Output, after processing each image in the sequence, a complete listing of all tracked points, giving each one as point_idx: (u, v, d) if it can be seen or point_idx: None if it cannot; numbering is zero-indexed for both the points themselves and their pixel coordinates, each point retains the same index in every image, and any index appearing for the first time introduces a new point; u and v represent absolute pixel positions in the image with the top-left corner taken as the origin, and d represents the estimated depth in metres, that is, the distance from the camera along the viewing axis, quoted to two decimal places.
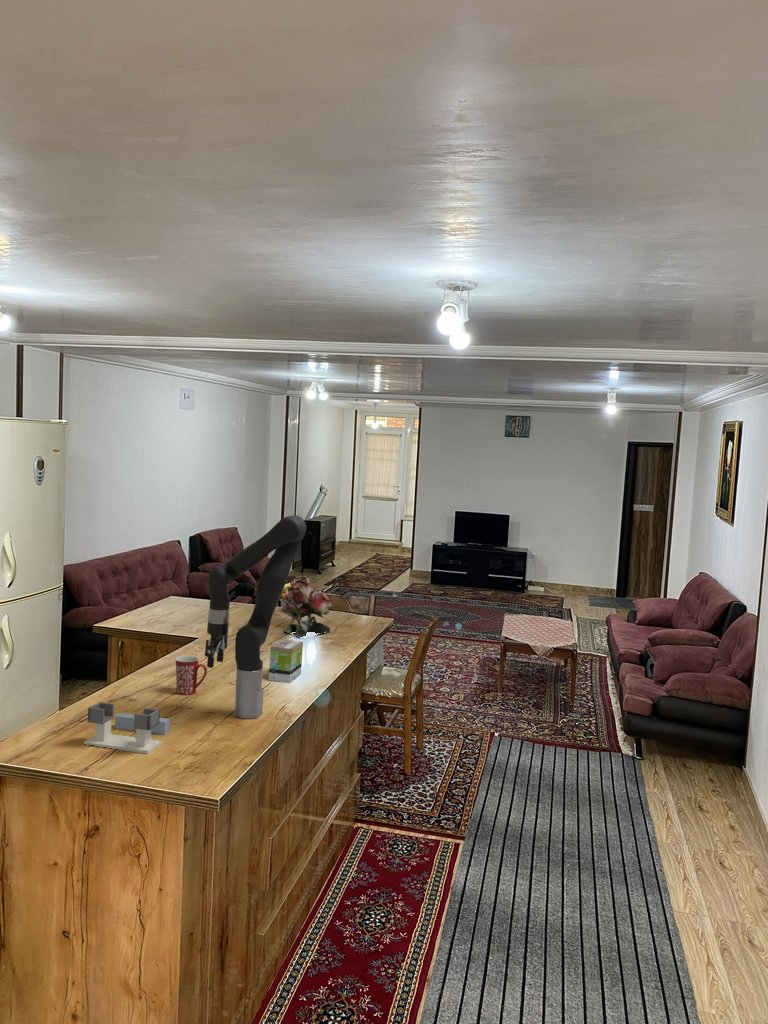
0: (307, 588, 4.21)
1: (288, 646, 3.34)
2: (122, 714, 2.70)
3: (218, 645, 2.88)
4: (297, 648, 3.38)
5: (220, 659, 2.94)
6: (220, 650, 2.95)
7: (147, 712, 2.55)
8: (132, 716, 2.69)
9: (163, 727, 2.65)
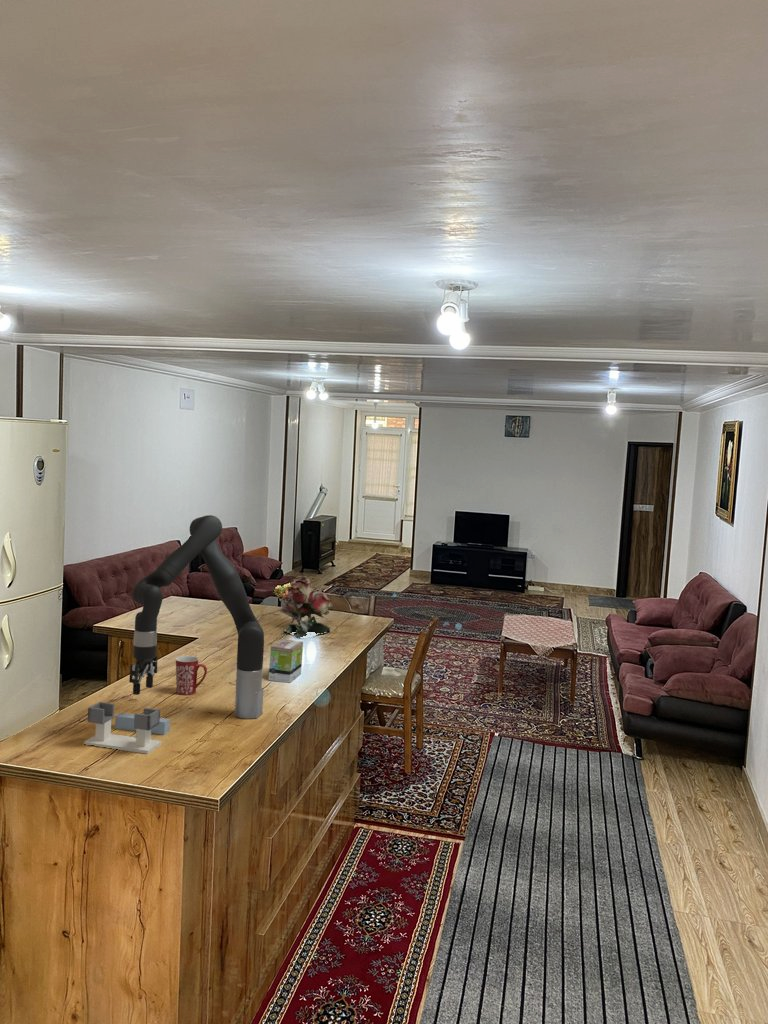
0: (307, 588, 4.21)
1: (288, 646, 3.34)
2: (122, 714, 2.70)
3: (145, 670, 2.65)
4: (297, 648, 3.38)
5: (149, 685, 2.71)
6: (149, 675, 2.72)
7: (147, 712, 2.55)
8: (132, 716, 2.69)
9: (162, 727, 2.65)
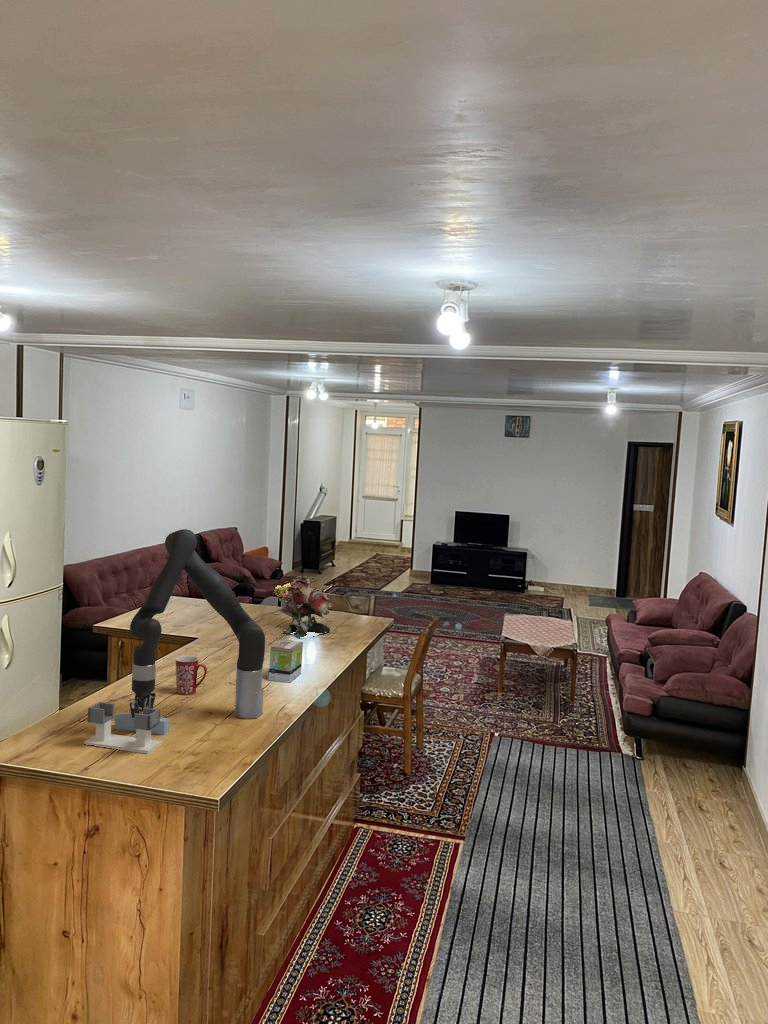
0: (307, 588, 4.21)
1: (288, 646, 3.34)
2: (122, 713, 2.70)
3: (144, 704, 2.66)
4: (297, 648, 3.38)
5: None
6: None
7: (147, 712, 2.55)
8: None
9: (162, 726, 2.65)
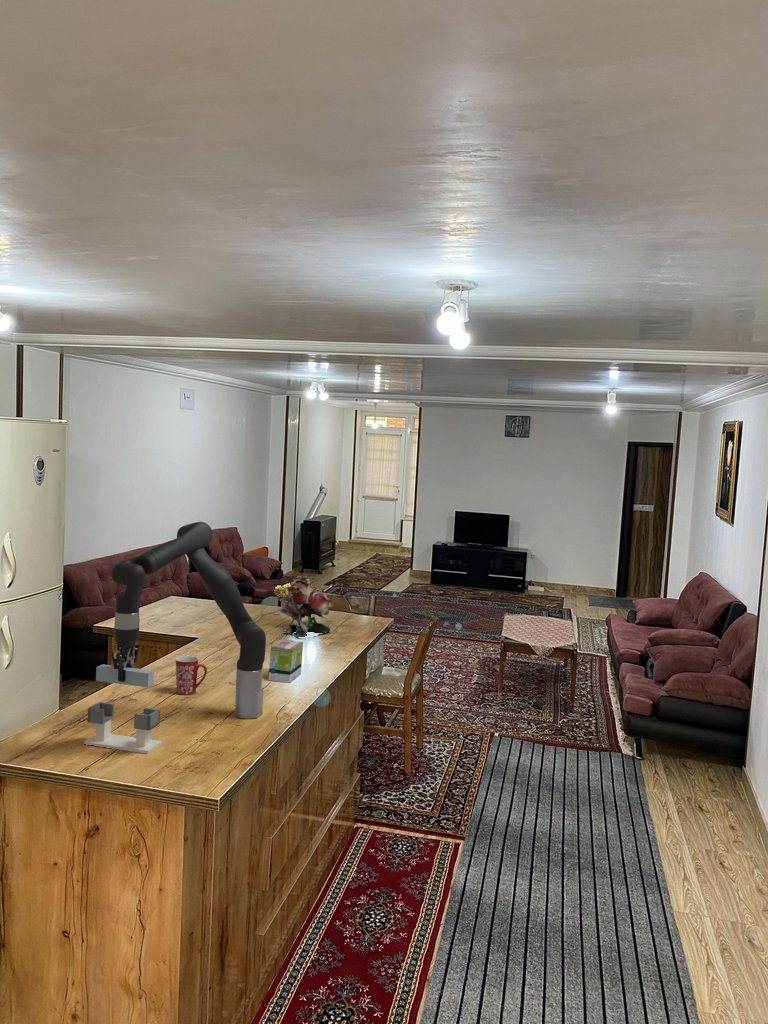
0: (307, 588, 4.20)
1: (288, 646, 3.34)
2: (104, 665, 2.55)
3: (128, 655, 2.51)
4: (297, 648, 3.38)
5: None
6: (128, 664, 2.55)
7: (147, 712, 2.55)
8: None
9: (146, 678, 2.50)
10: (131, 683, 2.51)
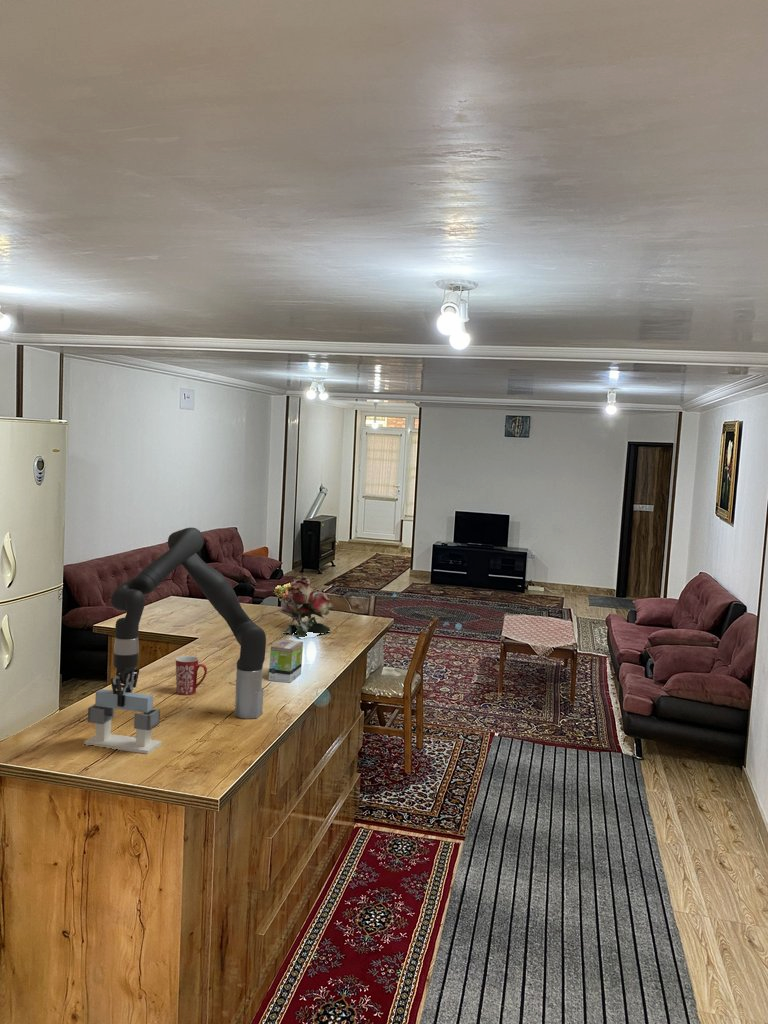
0: (307, 588, 4.20)
1: (288, 646, 3.34)
2: (103, 690, 2.56)
3: (127, 680, 2.51)
4: (297, 648, 3.38)
5: None
6: (127, 688, 2.55)
7: None
8: None
9: (145, 703, 2.50)
10: (130, 708, 2.51)
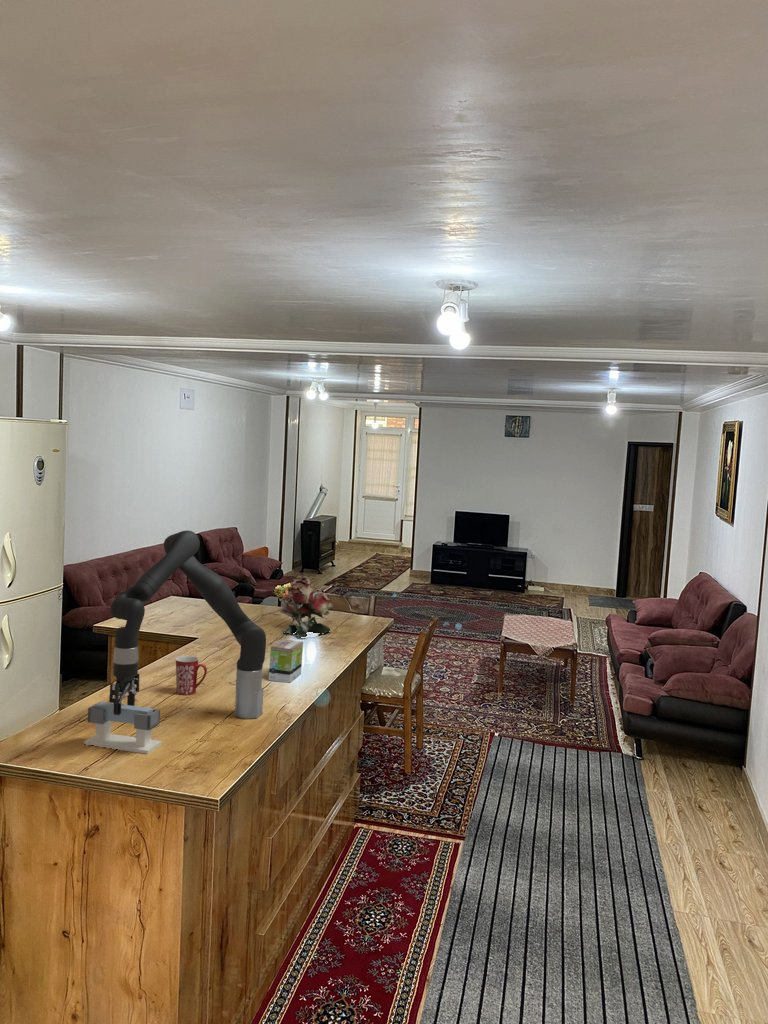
0: (307, 588, 4.20)
1: (288, 646, 3.34)
2: (103, 703, 2.56)
3: (126, 688, 2.51)
4: (297, 648, 3.38)
5: (131, 704, 2.57)
6: (131, 693, 2.57)
7: None
8: (113, 705, 2.54)
9: None
10: (130, 721, 2.52)
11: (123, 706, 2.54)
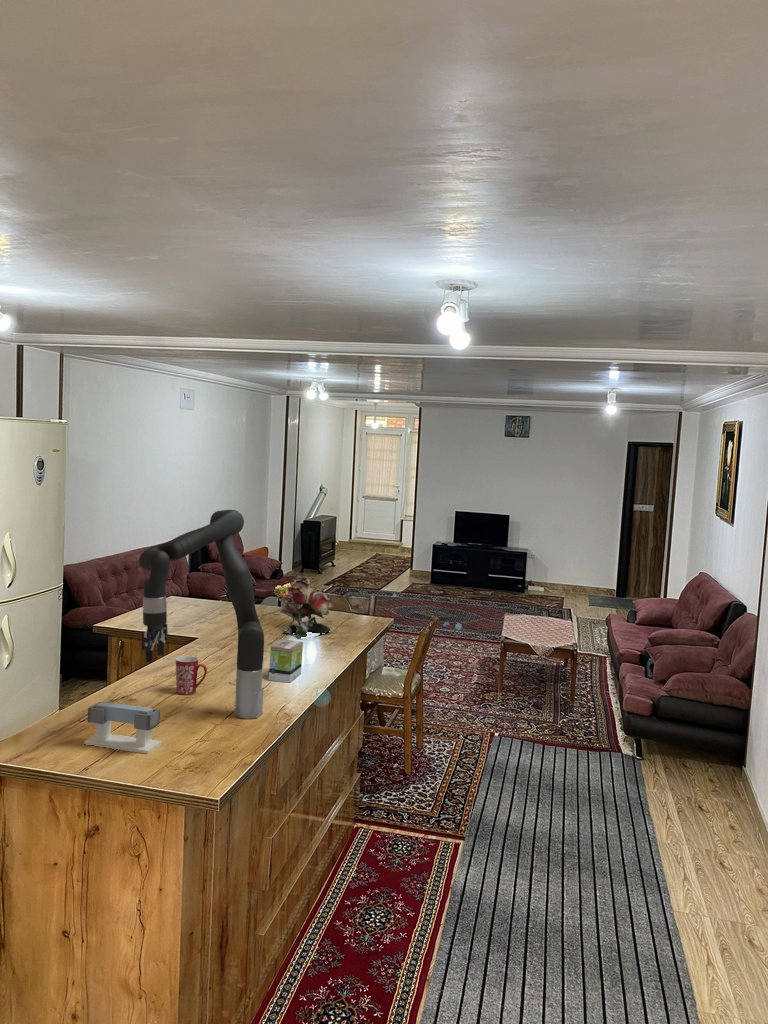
0: (307, 588, 4.20)
1: (288, 646, 3.34)
2: (103, 703, 2.56)
3: (156, 637, 2.61)
4: (297, 648, 3.38)
5: (161, 652, 2.68)
6: (160, 642, 2.68)
7: None
8: (113, 705, 2.54)
9: None
10: (130, 721, 2.52)
11: (123, 706, 2.54)
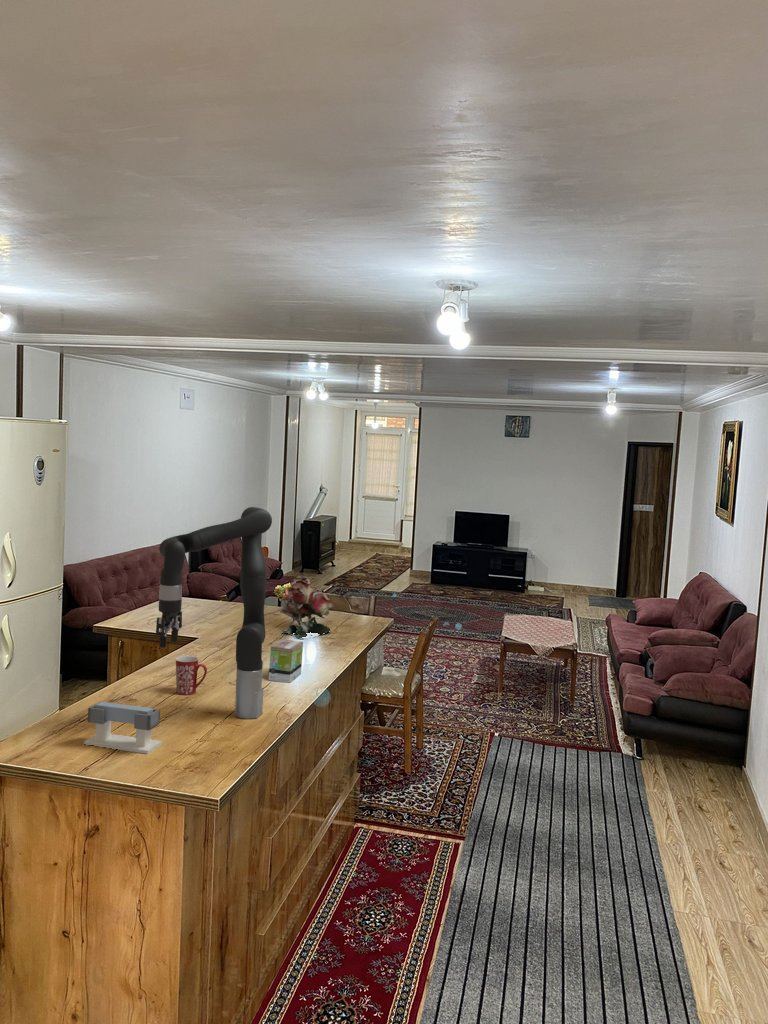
0: (307, 589, 4.20)
1: (288, 646, 3.34)
2: (103, 703, 2.56)
3: (170, 623, 2.69)
4: (297, 648, 3.38)
5: (174, 639, 2.76)
6: (174, 629, 2.76)
7: None
8: (113, 705, 2.54)
9: None
10: (130, 721, 2.52)
11: (123, 706, 2.54)
